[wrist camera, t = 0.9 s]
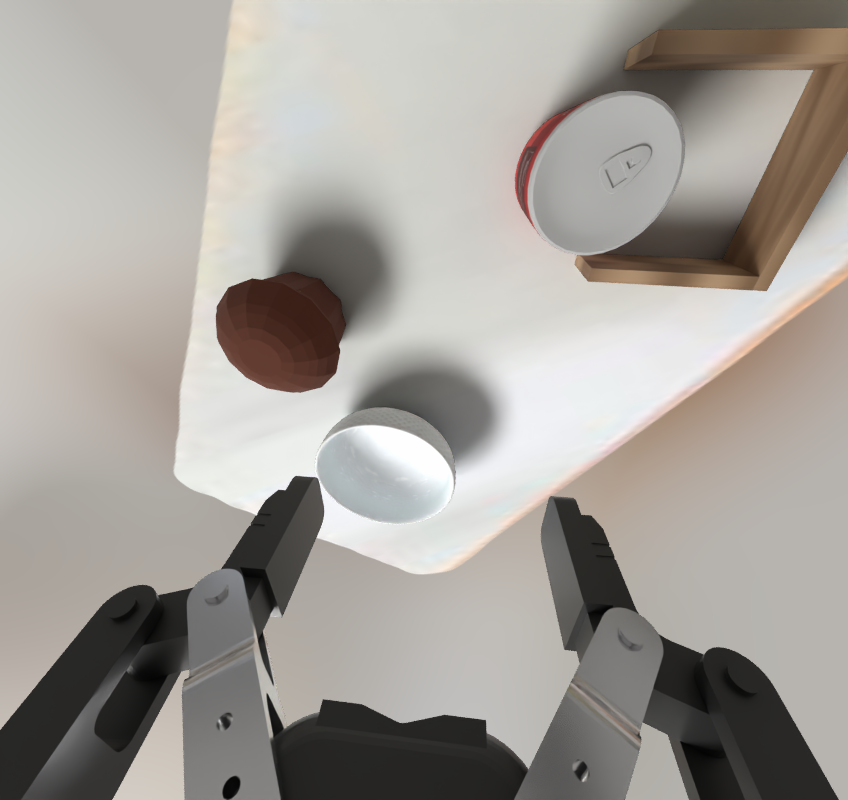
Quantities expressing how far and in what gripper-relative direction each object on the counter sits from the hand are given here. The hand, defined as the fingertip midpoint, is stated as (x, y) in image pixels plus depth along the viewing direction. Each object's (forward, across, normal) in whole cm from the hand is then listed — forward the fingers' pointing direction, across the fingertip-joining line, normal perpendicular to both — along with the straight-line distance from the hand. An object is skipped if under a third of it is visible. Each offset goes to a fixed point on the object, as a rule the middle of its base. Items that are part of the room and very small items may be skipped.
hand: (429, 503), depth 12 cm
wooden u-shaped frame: (+25, -18, -11) cm, 33 cm away
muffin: (+28, +16, +2) cm, 32 cm away
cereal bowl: (+29, +7, +19) cm, 36 cm away
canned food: (+26, -8, -11) cm, 29 cm away
